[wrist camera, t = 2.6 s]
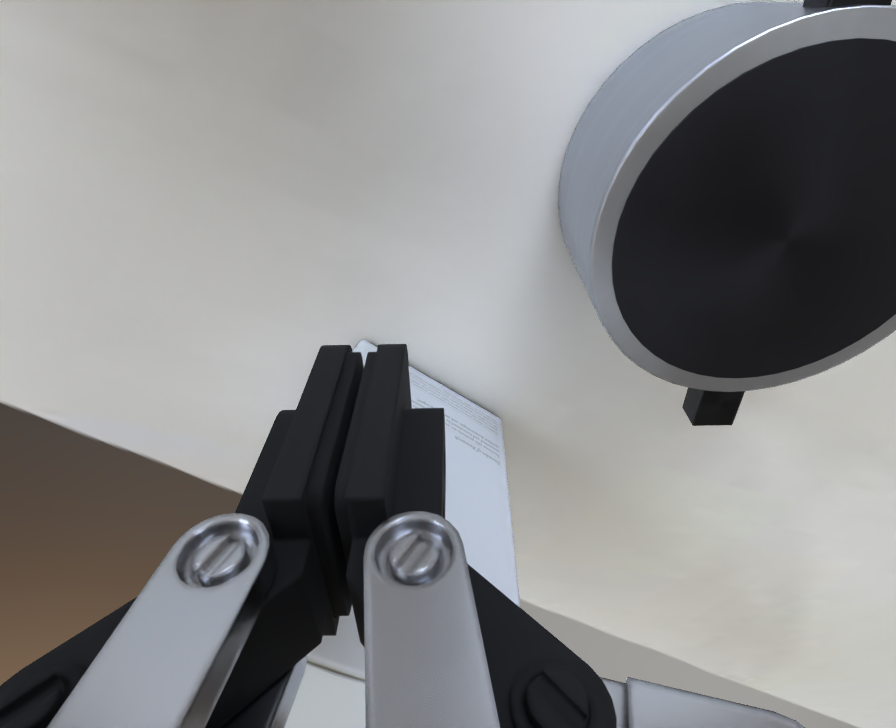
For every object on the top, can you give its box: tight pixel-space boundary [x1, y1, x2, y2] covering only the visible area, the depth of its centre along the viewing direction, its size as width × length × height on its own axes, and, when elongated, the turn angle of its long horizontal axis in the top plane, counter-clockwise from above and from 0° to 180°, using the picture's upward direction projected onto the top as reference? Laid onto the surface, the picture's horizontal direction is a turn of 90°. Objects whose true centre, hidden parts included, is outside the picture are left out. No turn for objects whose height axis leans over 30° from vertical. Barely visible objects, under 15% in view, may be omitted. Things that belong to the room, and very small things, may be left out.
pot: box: [558, 0, 896, 426], centre depth 19 cm, size 16×12×6 cm
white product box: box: [284, 340, 520, 728], centre depth 23 cm, size 9×9×15 cm
